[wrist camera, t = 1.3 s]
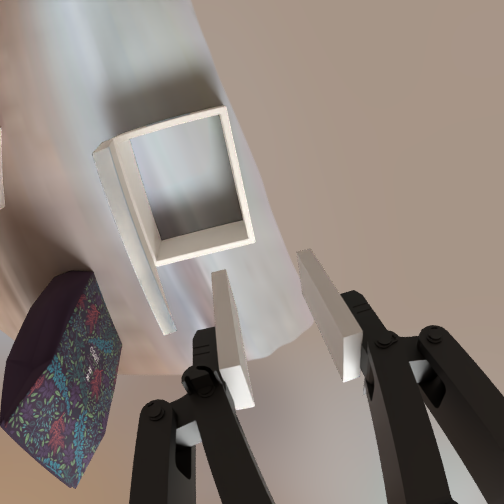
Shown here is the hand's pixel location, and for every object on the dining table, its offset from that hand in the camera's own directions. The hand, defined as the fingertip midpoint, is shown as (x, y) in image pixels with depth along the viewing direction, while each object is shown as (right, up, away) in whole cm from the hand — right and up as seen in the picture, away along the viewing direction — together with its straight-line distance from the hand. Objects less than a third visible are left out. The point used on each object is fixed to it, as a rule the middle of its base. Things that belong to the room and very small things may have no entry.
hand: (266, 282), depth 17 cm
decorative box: (-28, -8, +30) cm, 42 cm away
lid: (-11, +4, +12) cm, 17 cm away
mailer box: (-9, +11, +23) cm, 27 cm away
